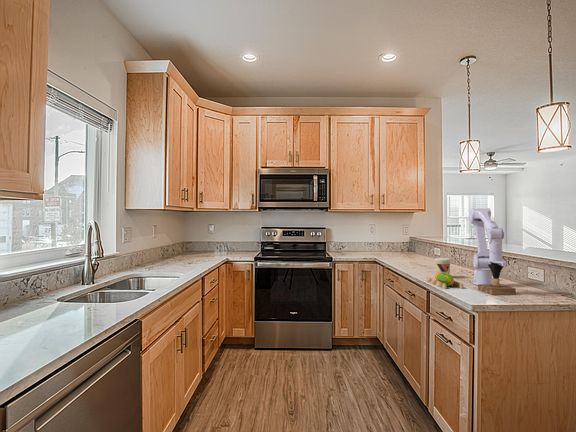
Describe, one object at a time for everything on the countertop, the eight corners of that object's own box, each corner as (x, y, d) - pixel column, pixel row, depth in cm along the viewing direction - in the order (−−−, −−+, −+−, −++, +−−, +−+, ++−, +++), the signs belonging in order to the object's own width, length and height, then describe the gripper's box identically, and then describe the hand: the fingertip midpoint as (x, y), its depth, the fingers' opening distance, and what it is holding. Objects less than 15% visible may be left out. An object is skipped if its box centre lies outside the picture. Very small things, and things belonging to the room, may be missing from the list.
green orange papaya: (444, 274, 186) (429, 268, 206) (443, 288, 186) (428, 281, 206) (457, 275, 186) (441, 269, 206) (457, 288, 186) (441, 282, 206)
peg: (490, 291, 177) (490, 278, 177) (497, 291, 177) (496, 277, 177) (494, 292, 173) (494, 279, 173) (501, 292, 173) (501, 279, 173)
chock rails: (426, 281, 207) (426, 276, 207) (443, 280, 207) (443, 276, 207) (444, 288, 184) (444, 284, 184) (463, 288, 184) (463, 284, 184)
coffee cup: (436, 278, 215) (436, 259, 215) (433, 276, 224) (432, 257, 224) (452, 278, 214) (452, 259, 214) (448, 276, 223) (447, 257, 223)
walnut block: (478, 289, 181) (477, 284, 181) (500, 289, 181) (500, 283, 181) (491, 294, 169) (491, 288, 169) (515, 294, 169) (515, 288, 169)
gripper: (479, 250, 182) (480, 276, 182) (496, 253, 168) (497, 281, 168) (492, 250, 182) (493, 275, 182) (510, 253, 168) (511, 280, 168)
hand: (496, 278), depth 175 cm, fingers closed
